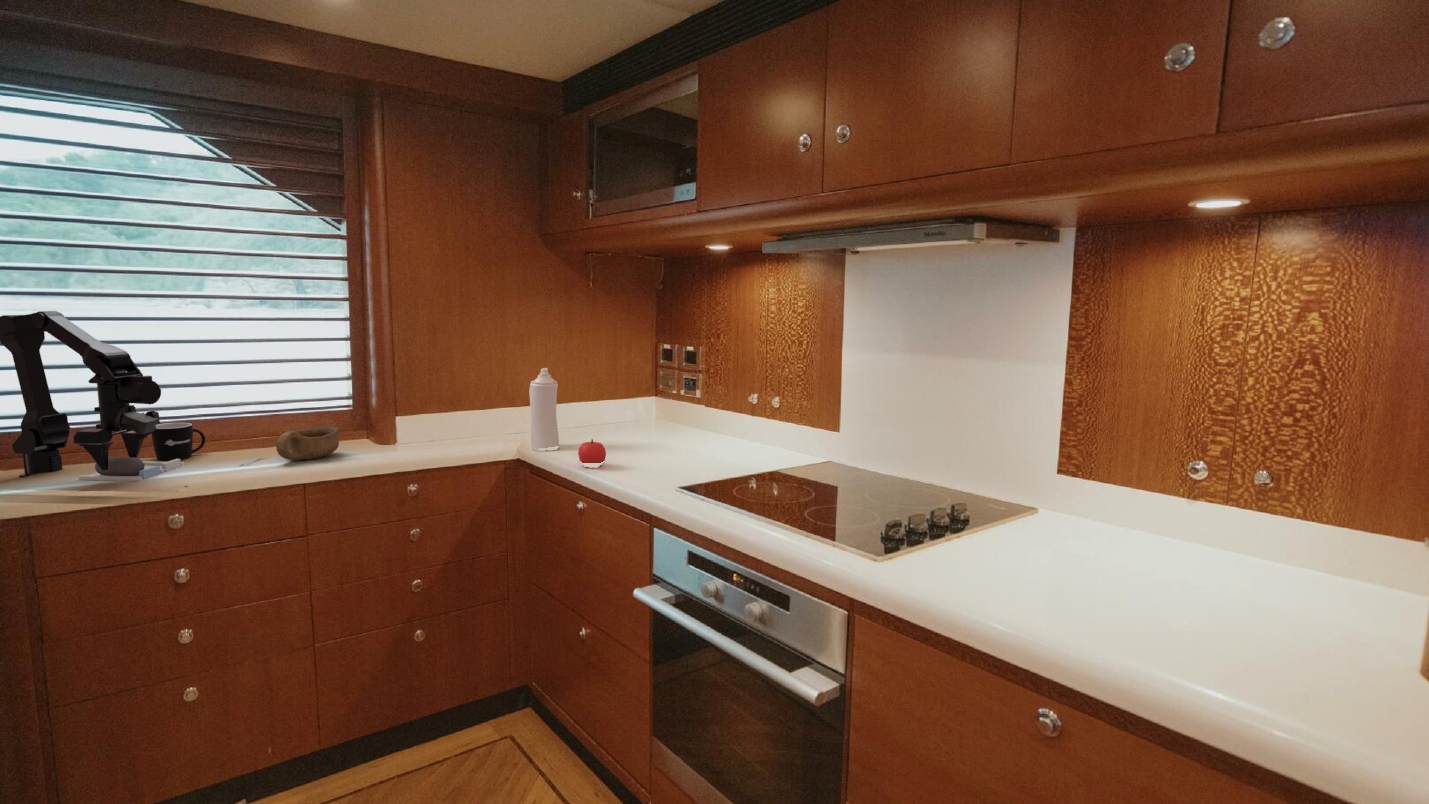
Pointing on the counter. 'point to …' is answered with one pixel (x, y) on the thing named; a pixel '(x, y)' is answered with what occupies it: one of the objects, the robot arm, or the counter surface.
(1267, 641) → the counter surface
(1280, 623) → the counter surface
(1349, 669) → the counter surface
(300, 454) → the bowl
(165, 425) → the mug
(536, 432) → the spray can
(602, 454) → the apple
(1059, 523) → the counter surface
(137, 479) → the board
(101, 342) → the robot arm
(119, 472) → the grey capsule
